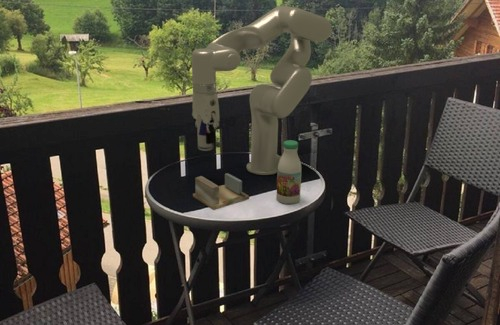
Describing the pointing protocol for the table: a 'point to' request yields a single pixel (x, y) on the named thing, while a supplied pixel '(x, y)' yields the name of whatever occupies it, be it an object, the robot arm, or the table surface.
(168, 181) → the table surface
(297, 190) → the milk bottle
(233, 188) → the grey rectangular plate
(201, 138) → the energy drink
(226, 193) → the board
